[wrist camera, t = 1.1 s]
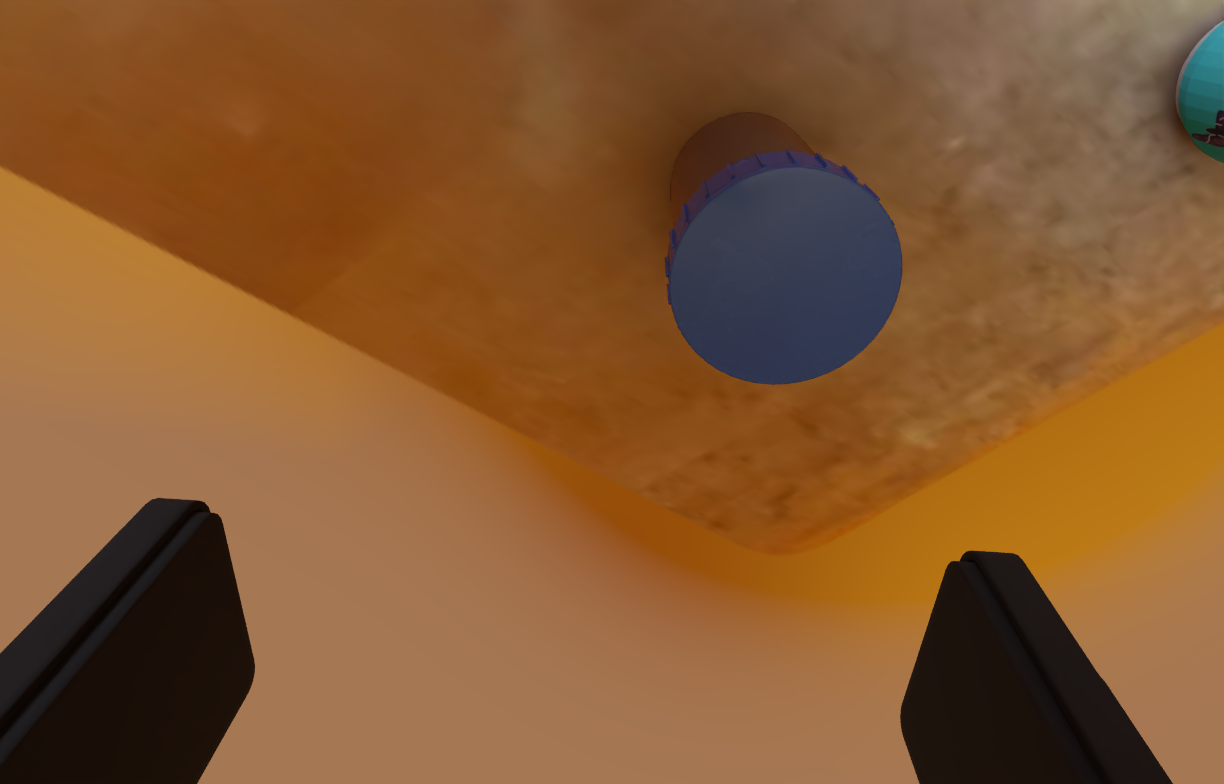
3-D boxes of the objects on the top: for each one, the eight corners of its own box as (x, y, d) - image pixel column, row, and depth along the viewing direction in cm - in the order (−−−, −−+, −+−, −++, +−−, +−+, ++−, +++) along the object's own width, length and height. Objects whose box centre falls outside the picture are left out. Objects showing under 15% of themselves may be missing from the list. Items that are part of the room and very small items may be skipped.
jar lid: (770, 98, 21) (782, 111, 19) (931, 243, 23) (955, 267, 21) (621, 275, 24) (620, 300, 22) (776, 392, 26) (786, 424, 24)
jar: (737, 79, 29) (780, 131, 20) (845, 175, 31) (928, 264, 22) (640, 198, 31) (640, 292, 22) (745, 282, 33) (783, 401, 24)
